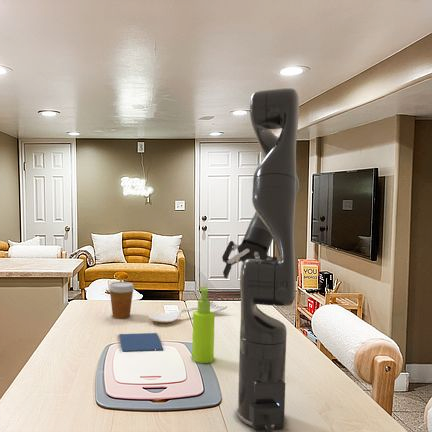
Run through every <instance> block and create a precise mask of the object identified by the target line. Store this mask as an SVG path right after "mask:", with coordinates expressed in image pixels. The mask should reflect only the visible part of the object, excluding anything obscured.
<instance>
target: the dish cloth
mask: <svg viewBox="0 0 432 432" xmlns="http://www.w3.org/2000/svg"><path fill="white" fill-rule="evenodd" d="M119 340H120V345H121V351H122V352H123V353H125V352H126V353H127V352H149V351H150V352H152V351H153V352H154V350H155V349H156V351H164V347H163V345H162V343H161V340H160V339H159V336H158V334H157V332H149V333H148V332H146V333H119Z"/></svg>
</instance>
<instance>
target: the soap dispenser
mask: <svg viewBox="0 0 432 432" xmlns="http://www.w3.org/2000/svg"><path fill="white" fill-rule="evenodd" d="M198 290H200V299H198V300H197V308H198V310H193V312H192V313H193V314H192V350H191V351H192V352H191V353H192V355H193V356H192V355H191V356H192V357H191V359H192V361H194V362H196V363H199V364H211V363H212V362H214V354H215V353H214V352H215V312H214V313H213V312H211V311H210V302H211V300H210V299H208V293H209V289H208V287H207V286H198ZM194 357H195V358H194Z"/></svg>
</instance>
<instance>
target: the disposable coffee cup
mask: <svg viewBox="0 0 432 432" xmlns="http://www.w3.org/2000/svg"><path fill="white" fill-rule="evenodd" d="M134 289H135V286H134V284H133V283H132V282H129V281H114V282H110V283H109V286H108V290H109V295H110V304H111V312H112V317H113V318H115V319H127V318H129V317H130V316H131V309H132V300H133V294H134Z"/></svg>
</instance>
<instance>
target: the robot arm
mask: <svg viewBox="0 0 432 432" xmlns="http://www.w3.org/2000/svg"><path fill="white" fill-rule="evenodd" d="M299 97H300V96H299V93H298V91H297V90H296V89H295V88H292V87H287V88H285V87H284V88H274V89H263V90H258V91H254V93H253V94H252V95H251V97H250V100H249V101H250V102H249V117H250V123H251V126H252V129H253V132H254V135H255V137H256V140H257V142H258V145H259V147H260V150H261V153H262V158H263V159H262V160H261V161H260V163H259V164H258V166H257V168H256V169H255V171H254V174H253V176H252V177H253V178H252V191H251V192H252V193H251V202H252V205H253V206H252V207H253V208H254V210H255V212H254V215H253V216H252V218H251V220H250V222H249V224H248V227H247V230H246V231H245V234H244V237H243V239H242V240H241V241H242V242H241V243H240V244H238V243H235V242H234V241H233V240H230V241H229V242H228V244H227V247H226V249H225V251H224V252H223V255H222V256H221V257H222V262H224V263H225V266H224V269H223V271H222V275H223V278H224V279H228V277H229V275H230V272H231V269H232V266H234V265H236V264H239V263H240V262H241V263H242V264H241V266H240V274H239V291H240V292H239V294H240V295H239V296H240V325H239V326H240V328H239V357H238V358H239V359H238V391H237V392H238V394H237V395H238V397H237V398H238V399H237V417H238V419H239V421H241V422H242V423H243V424H245V425H247V426H249V427H251V428H252V429H253V430H254V431H264V430H266V432H272V430H280V429H281V430H282V429H284V428H285V408H286V360H287V334H288V331H287V327H286V325H285V324H284V323H283V322H282V321H280V320H279V319H277V318H275V317H273V316H270V315H268V314H266V313H264V312H263V311H262V309H260V308H259V307H258V306H257V305H259V306H260V305H261V306H271V307H285V308H287V307H291V306H292V305H293V304H294V301H295V298H296V292H297V271H296V246H295V242H296V241H295V225H296V223H295V221H296V205H297V194H298V192H299V190H300V182H299V177H298V174H297V141H298V127H299V117H300V98H299ZM277 129H278V130H279V129H281V130H280V134H279V136H277V135H276V134H274V132H273V131H272V130H277ZM273 241H274V243H275V246H276V249H277V252H278V256H279V259H278V257H277V256H271V255H268V253H269V251H270V248H271V245H272V242H273ZM236 250H237V252H238V253H237V254H235V255H233V256H232V257H231V258H230V255H231V254H232V252H234V251H236Z"/></svg>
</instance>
